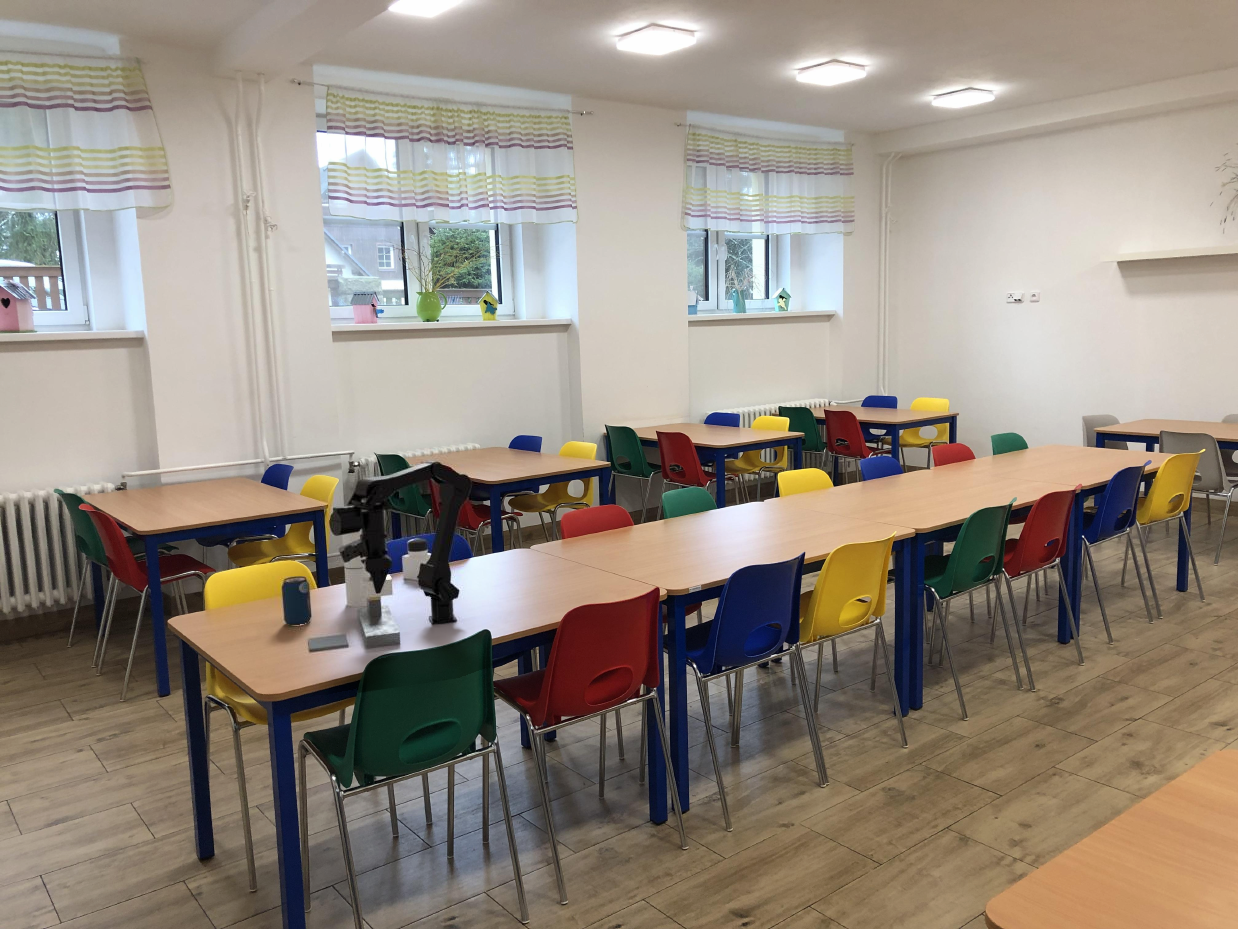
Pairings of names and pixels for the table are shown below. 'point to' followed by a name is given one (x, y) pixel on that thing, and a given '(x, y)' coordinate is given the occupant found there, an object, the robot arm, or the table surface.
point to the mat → (328, 642)
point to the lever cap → (369, 588)
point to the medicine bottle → (415, 558)
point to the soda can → (296, 600)
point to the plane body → (378, 625)
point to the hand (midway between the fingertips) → (377, 590)
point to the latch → (374, 598)
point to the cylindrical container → (354, 574)
